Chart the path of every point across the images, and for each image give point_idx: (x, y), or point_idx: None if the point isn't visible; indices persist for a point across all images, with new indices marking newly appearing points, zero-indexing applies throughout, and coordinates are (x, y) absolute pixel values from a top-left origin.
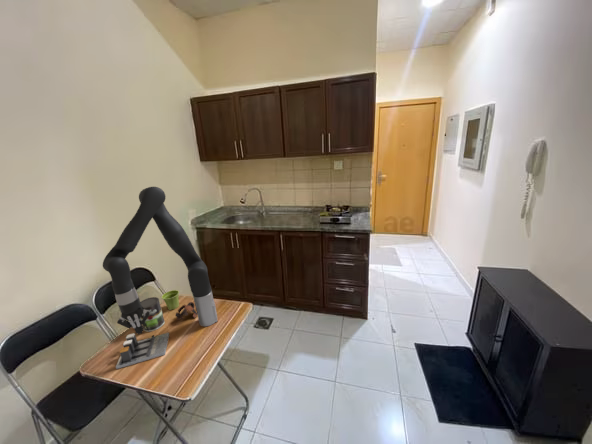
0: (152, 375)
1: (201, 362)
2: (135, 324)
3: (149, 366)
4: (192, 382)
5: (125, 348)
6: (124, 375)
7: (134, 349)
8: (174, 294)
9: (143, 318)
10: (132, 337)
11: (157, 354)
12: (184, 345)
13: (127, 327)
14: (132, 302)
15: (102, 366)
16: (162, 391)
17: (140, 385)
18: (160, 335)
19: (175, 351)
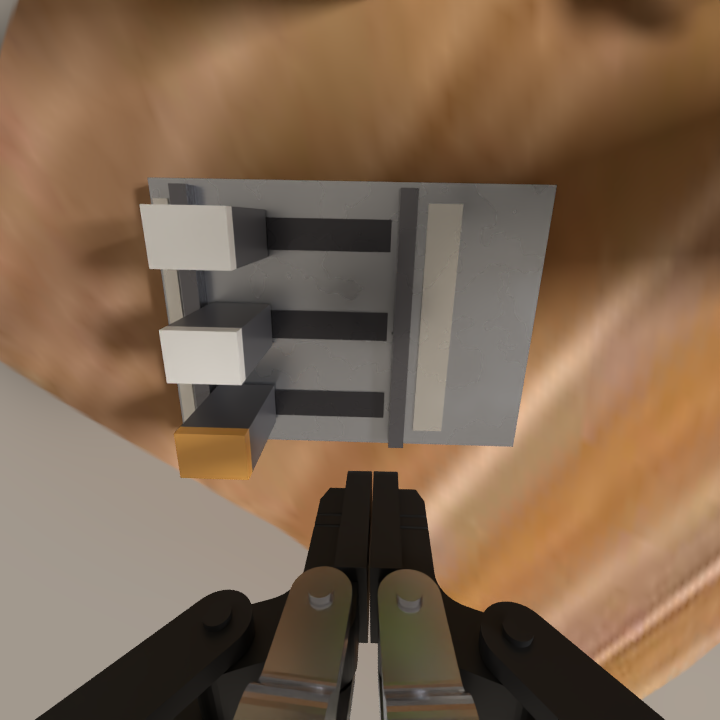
0: (437, 561)
1: (708, 589)
2: (348, 712)
3: None
4: (631, 674)
5: (221, 453)
6: (270, 495)
7: (269, 317)
8: None
9: (542, 717)
10: (224, 269)
11: (462, 443)
12: (647, 401)
13: (198, 714)
14: None
15: (70, 347)
16: None
17: None
18: (476, 197)
19: (576, 434)
